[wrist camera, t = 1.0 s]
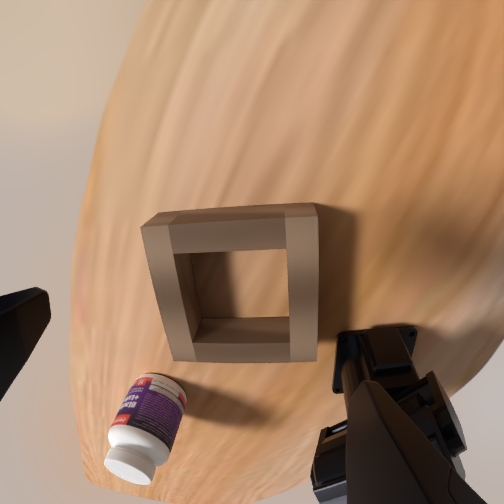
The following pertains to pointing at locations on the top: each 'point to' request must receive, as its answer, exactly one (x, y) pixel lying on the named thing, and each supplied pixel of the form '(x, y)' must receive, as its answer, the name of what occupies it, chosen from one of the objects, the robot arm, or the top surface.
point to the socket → (235, 239)
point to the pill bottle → (145, 428)
